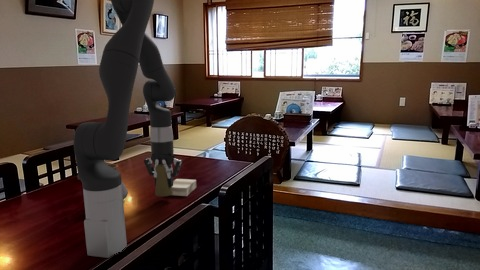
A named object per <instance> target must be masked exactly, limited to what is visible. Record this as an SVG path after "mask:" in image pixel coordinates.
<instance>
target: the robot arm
mask: <svg viewBox="0 0 480 270" xmlns="http://www.w3.org/2000/svg"><path fill="white" fill-rule="evenodd" d="M110 2H111V5H112V7H113V9H114V13H115V14H116V16H117V18H118V20H119V22H120V24H121V27H120V28H119V29H118V30H117V31H116V32H115V33H114V34H113V35H112V36H111V38H109V40H108V41H107V43H106V44H105V45H104V48H103V51H102V55H101V59H100V63H99V69H98V75H99V78H100V82H101V84H102V86H103V89H104V91H105V94H106V98H107V102H108V103H107V104H108V105H107V107H108V109H107V114H106V119H105V121H104V122H99V121H87V122H83V123H81V124H78V126H77V128H76V129H75V131H74V135H73V151H74V156H75V161H76V162H75V163H76V168H77V169H76V170H77V176H78V175H79V176H78V178H79V179H80V181H81V183H82V191H83V202H84V211H85V212H84V213H85V219H84V221H83V225H84V234H85V245H86V253H87V256H88V257H89V256H91V257H99V258H110V257H112V256H114V254H115V255H117V254H119V253H118V252H120V253H121V252H123V251H124V250H125V249H126V248H127V247H128V244H127V243H128V242H127V232H126V229H127V228H126V219H125V209H124V208H125V207H124V200H123V192H122V182H123V180H122V174H121V173H120V172H119V170H118V169H117V170H115V169H113V168H111V167H110V166H109V165H108V164H107V162H106V161H116V160H117V159H119V158H120V157H121V155H122V154H123V152H124V150H125V148H126V143H127V142H126V141H127V136H128V125H129V115H130V108H131V102H132V101H131V100H132V95H133V90H134V85H135V81H136V77H137V74H138V69H139V67H140V71H141V73H142V75H143V77H144V78H145V79H149V80H147V81H145V83H144V84H143V87H142V94H143V98H144V100H145V103H146V105H147V109H148V113H149V120H150V122H149V123H150V125H149V126H150V129H149V130H150V131H149V133H150V134H149V136H150V152H151V155H150V157H147V158H145V159H144V160H143V163H144V165H145V168H146V170H147V173H148V175H149V176H150V177H151V176H152V177H154V185H155V186H154V187H156V179H157V172H156V170H155V167H156V165H159V164H163V165H164V166H165V168H166V173H167V177H168V178H167V181H168V187H169V189H170V187H172V186H173V181H174V178H175V177H176V176H178V175H179V173H180V169H181V167H182V163H183V159H178V158H176V157H175V155H174V152H175V151H174V150H175V149H174V134H173V133H174V132H173V128H172V126H173V125H172V124H173V123H172V111H171V110H170V109H168V108H165V107H162V106H160V104H159V102H171V101H172V100H173V101H174V98H175V96H176V94H177V93H176V92H177V90H176V86H175V84H174V81H173V80H172V78H171V77H170V75H169V73H168V71H167V70H166V69H165V67H164V62H163V59H162V56H161V52H160V50H159V47H158V45H157V44H156V43H155V42H154V40H153V39H152V38H151V37H150V36H149V35H148V33H146V30H147V27H148V24H149V20H150V18H151V15H152V12H153V9H154V2H155V0H110ZM153 164H154V165H153ZM173 165H174V169H173ZM169 167H170V169H169ZM125 247H126V248H125ZM124 248H125V249H124ZM123 249H124V250H123ZM122 250H123V251H122ZM116 253H117V254H116Z"/></svg>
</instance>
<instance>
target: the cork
mask: <svg viewBox="0 0 480 270" xmlns="http://www.w3.org/2000/svg"><path fill="white" fill-rule="evenodd" d="M154 168H155V170H156V172H157V179H156V186H155V191H154V193H155V194H154V195H155V196H156V197H168V196H172V195H171V194H172V193H173V192H172V187H170V189H169V187H168V181H167V178H168V177H167V173H166V168H165V166H164V165H163V164H159V165H156V167H155V166H154ZM169 169H170V167H169Z"/></svg>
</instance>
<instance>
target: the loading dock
mask: <svg viewBox="0 0 480 270" xmlns="http://www.w3.org/2000/svg"><path fill="white" fill-rule="evenodd" d="M195 189H197V179H188V178H176V179H174V180H173V186H172V192H173V193H172V194H171V195H170V196H179V197H180V196H181V197H188V196H189V195H190V194H191V193H192V192H193V191H195Z"/></svg>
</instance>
